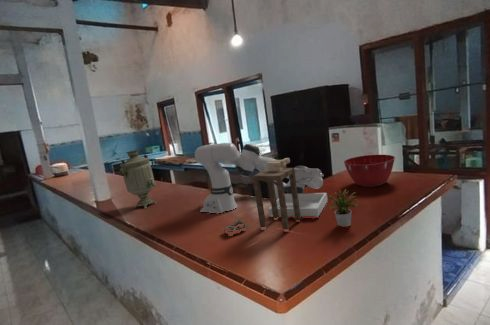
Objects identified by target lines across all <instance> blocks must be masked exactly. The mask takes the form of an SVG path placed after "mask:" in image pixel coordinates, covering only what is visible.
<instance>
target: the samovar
mask: <svg viewBox="0 0 490 325" xmlns="http://www.w3.org/2000/svg"><path fill="white" fill-rule="evenodd" d="M139 151H140V149H134V150H130V151H126V152H125V153H126V154H127V156H128V157H129V158H128V159H127V160H126V161H125V160H124V159H123V160H121V161H120V162H121V164H119V166H120V168H115V169H114V172H117V174H118V175H119V176H121V177H122V178H123V180H124V184H125V188H126V191H127V192H128V193H129V194H132V195H134V196H137V198H139V201H138V202H137V204H136V205H135V206H134V209H136V208H138V207H143V209H144V210H145V209H147V208H148V205H151V204H152V203H153V204H157V203H158V202H157V201H155V200H153V199H151V197H148V196H149V192H151V191H152V190H153V188H156V182H155V178H154V172H153V169H152V168H153V166H154V162H155V161H156V158H150V157H147V155H148V154H147V155H146V154H144V155H143V157H142V156H139ZM150 163H151V164H150Z"/></svg>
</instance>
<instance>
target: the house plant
mask: <svg viewBox="0 0 490 325" xmlns="http://www.w3.org/2000/svg"><path fill="white" fill-rule="evenodd" d="M349 191H350V190H347V188H345V189H344V190H343V192H342V189H341V188H339V195H338V193H337V192H335V191H334V193H332V192H331V194H332V195H335V197H336V198H335V197H334V196H332V195H327V196H324V197H327V198H330V199H331V202H332V203H333V204H335V205H332V204H331V205H329V206H328V209H329V210H331V209H336V210H335V211H334V216H335V219H336V223H337V226H338V225H339V226H350V225H352V210H351V209H349V208H352V207H353V208H357V206H358V203H356V202H357V199H353V198H355V197H356V196H353V195H354V194H355V193H357V192H353V193H351V194H350V195H349V196H348V197H347V199H346V196H347V194H348V193H349ZM356 198H357V197H356ZM355 201H356V202H355ZM353 202H354V203H353ZM339 226H338V227H339ZM350 227H351V226H350Z"/></svg>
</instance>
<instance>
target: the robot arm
mask: <svg viewBox="0 0 490 325" xmlns="http://www.w3.org/2000/svg"><path fill="white" fill-rule="evenodd" d="M261 154H262V152H260V149H259V147H258V146H257V145H255V144H254V143H253V144H252V143H246V144H244V146H243V147H242V151H241V152H240V151H239V150H238V148H237V146H236V145H235V143H232V142H221V143H213V144H205V145H201V146H199V147H197V148H196V149H195V152H194V158H195V160H196V162H197V164H198V163H199V164H200V165H201V166H203V168H205V170H206V172H207V173H208V174H209V178H210V183H211V187H210V188H209V189H208V192H210V194H208V196H207V197H206V198H205V199H204V200H203V204H202V205H203V207H202V208H201V209H200V213H201V212H209V213H208V214H210V213H221V212H224V211H229V210H232V211H234V210H236V209H237V208H238V205H237V202H236V200H235V196H234V191H233V185H232V183H231V177H230V173H229V170H227V169H226V168H224V167H222V166H221V165H220V164H222V165H228V166H229V165H231V166H232V165H234V169H236V172H237V173H238V174H239V175H240V176H241V177H244V178H248V177H251V176H253V173H254V170H255V169H256V170H258V171H259V172H262V171H264V170H266V169H268V163H269V162H271V161H273V160H277V159H275V158H273V157H269V156H262V155H261ZM293 168H294V170H295V178H296V185H297V193H298V194H300V193H304V190H305V186H308V187H309V188H311V189H314V190H318V189H320V188H322V187H323V184H324V179H323V177H324V176H325V175H324V173H322V170H321V169H319V168H310V167H307V166H305V165H297V166H295V167H293ZM285 179H287V180H288V179H289V180H288V182H287V183H285V182H284V181H283V187H284V193H285V192H286V194H292V192H291V185H290V178H289V176H287V177H285ZM273 181H274V186H277V183H276V180H273ZM235 208H236V209H235ZM233 209H234V210H233ZM229 212H230V211H229ZM224 213H225V212H224ZM221 214H222V213H221Z"/></svg>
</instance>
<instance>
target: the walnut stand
mask: <svg viewBox="0 0 490 325" xmlns="http://www.w3.org/2000/svg"><path fill="white" fill-rule="evenodd" d="M294 168H295V167H286V169H284V170H282V171H269V169H266V170H264V171H262V172H261V171H259V172H258V173H256V174H252V175H251V176H252V182H253V189H254V195H255V201H256V208H257V214H258V215H257V216H258V221H259V227H265V226H266V227H267V223H266V222H267V221H266V216H265V210H264V202H263V197H262V191H261V190H262V189H261V184H260V181H267V185H268V191H269V199H270V204H271V205H270V206H272V213H273V218H277V217H279V215H278V208H277V202H276V200H277V197H278V198H279V204H280V210H281V217H282V218H281V222H282V223H281V224H282V230H283V229H290V223H289V218H288V215H287V208H286V201H285V194H286V193H285V191H284V187H283V182H284V179H286V177H287V176H289V178H290V185H291V192H292V200H293V207H294V214H295V218H294V220H300V219H301V220H302V218H301V215H300V208H299V200H298V193H297V185H296V178H295V170H294ZM273 180H276V183H277V185H276V189H275V184H274V181H273ZM275 190H276V191H277V195H278V196H276V191H275ZM273 218H272V219H273Z"/></svg>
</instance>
